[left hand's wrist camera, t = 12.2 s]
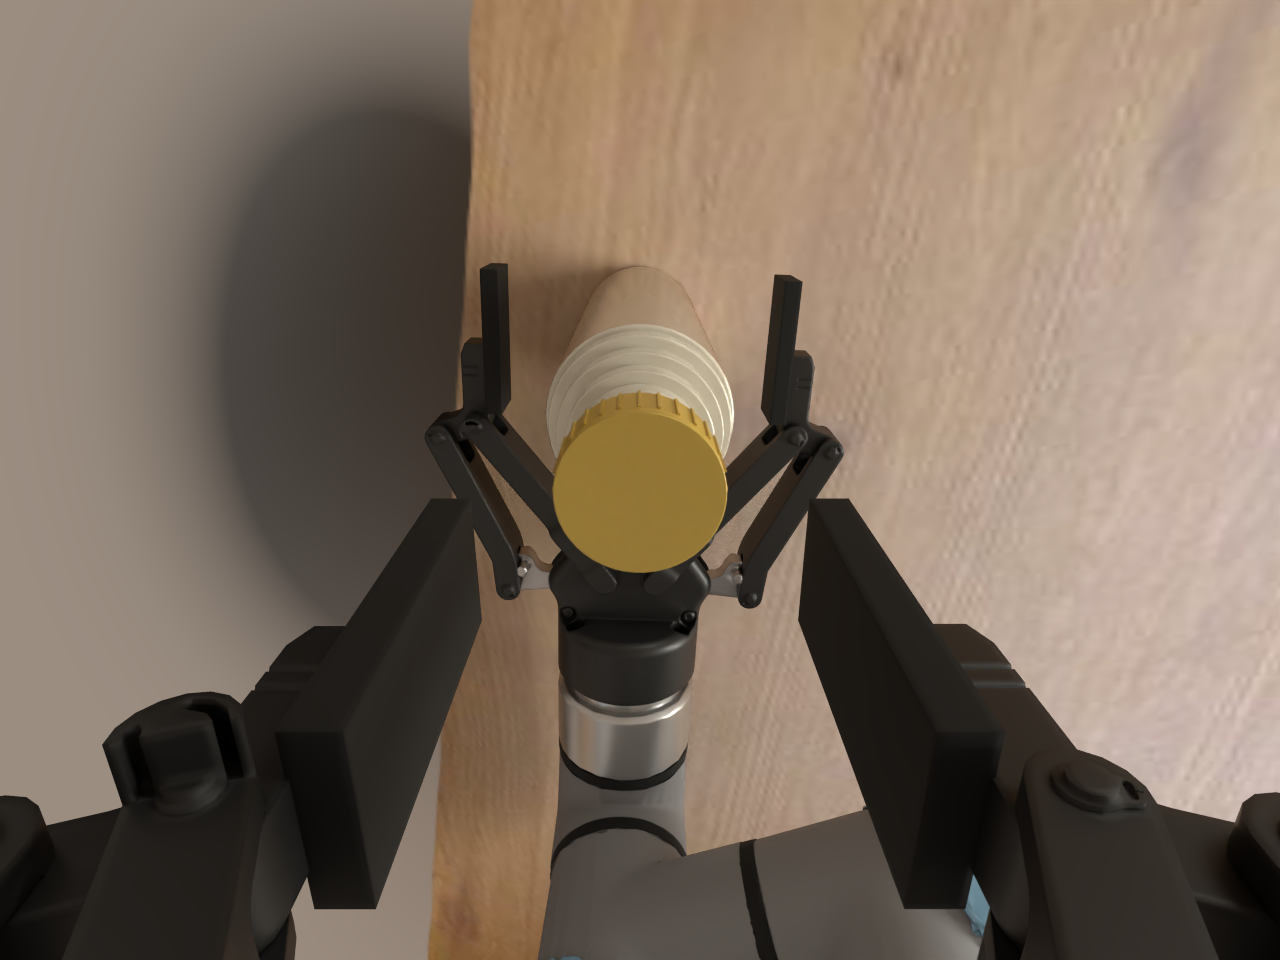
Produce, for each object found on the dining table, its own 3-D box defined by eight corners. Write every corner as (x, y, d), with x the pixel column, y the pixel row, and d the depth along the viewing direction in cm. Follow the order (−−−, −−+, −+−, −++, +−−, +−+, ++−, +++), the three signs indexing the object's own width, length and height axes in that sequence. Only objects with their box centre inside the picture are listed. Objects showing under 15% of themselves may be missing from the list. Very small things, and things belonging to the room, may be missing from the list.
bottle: (604, 250, 39) (556, 332, 17) (711, 288, 40) (802, 416, 17) (571, 357, 41) (489, 558, 19) (673, 391, 42) (711, 624, 19)
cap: (586, 366, 18) (581, 384, 17) (746, 420, 19) (757, 443, 17) (538, 515, 20) (529, 546, 18) (688, 561, 20) (692, 595, 19)
